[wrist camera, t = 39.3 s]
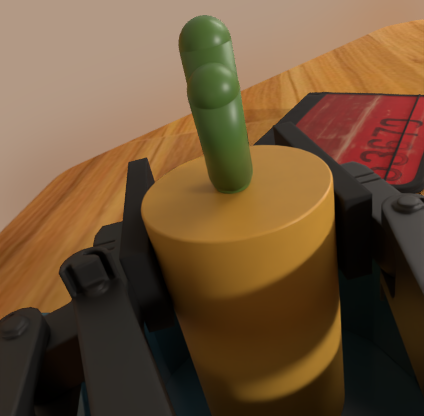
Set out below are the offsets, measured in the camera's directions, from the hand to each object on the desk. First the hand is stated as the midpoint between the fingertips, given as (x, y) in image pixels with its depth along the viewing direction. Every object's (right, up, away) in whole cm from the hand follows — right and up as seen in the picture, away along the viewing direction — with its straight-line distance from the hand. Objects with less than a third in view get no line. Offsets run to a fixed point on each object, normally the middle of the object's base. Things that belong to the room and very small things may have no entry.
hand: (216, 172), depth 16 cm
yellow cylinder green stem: (+2, -8, -1) cm, 9 cm away
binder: (+14, +5, +24) cm, 28 cm away
